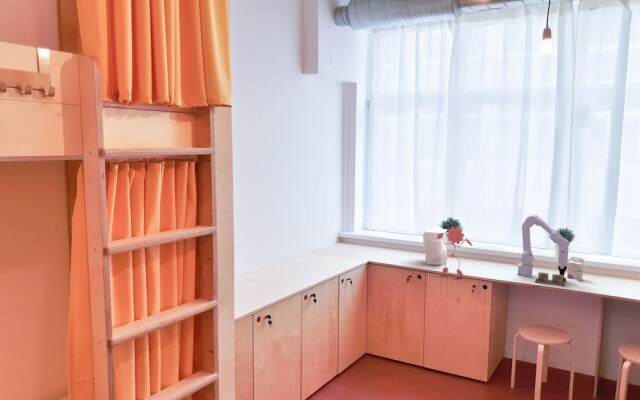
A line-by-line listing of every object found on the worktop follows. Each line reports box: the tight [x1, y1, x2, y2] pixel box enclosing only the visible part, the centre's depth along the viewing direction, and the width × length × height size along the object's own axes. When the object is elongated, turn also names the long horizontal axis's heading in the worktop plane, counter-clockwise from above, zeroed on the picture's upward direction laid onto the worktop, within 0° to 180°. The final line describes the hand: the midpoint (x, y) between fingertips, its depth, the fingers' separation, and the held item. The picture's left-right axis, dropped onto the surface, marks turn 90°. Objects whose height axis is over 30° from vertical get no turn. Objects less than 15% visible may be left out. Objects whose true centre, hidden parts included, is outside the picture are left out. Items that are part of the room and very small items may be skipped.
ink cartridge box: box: [566, 256, 584, 281], centre depth 340 cm, size 9×5×15 cm, turn 44°
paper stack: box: [422, 228, 448, 266], centre depth 381 cm, size 21×27×26 cm
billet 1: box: [537, 271, 550, 282], centre depth 327 cm, size 6×4×6 cm, turn 61°
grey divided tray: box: [534, 277, 566, 287], centre depth 325 cm, size 18×9×2 cm, turn 61°
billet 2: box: [551, 273, 563, 284], centre depth 322 cm, size 6×4×6 cm, turn 60°
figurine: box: [437, 226, 473, 280], centre depth 344 cm, size 15×26×35 cm, turn 54°
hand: (561, 276), depth 330 cm, fingers closed, pressing on button cap
